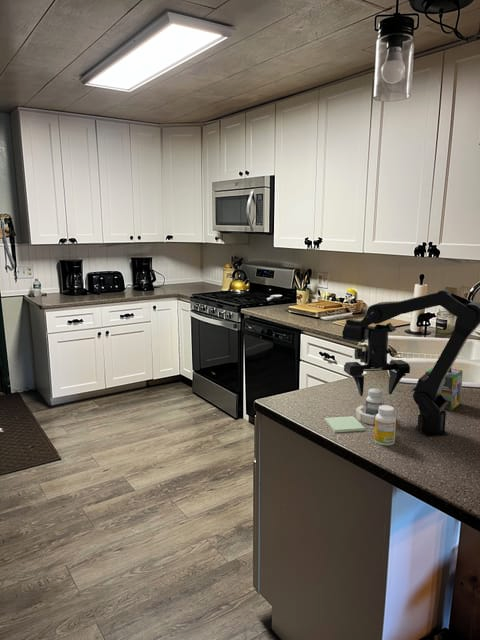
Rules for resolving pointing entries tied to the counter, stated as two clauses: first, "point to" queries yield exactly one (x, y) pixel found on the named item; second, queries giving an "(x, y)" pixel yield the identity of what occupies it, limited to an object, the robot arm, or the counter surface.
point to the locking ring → (364, 416)
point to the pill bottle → (374, 401)
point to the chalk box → (451, 387)
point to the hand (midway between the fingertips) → (375, 395)
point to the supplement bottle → (385, 426)
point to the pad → (344, 424)
